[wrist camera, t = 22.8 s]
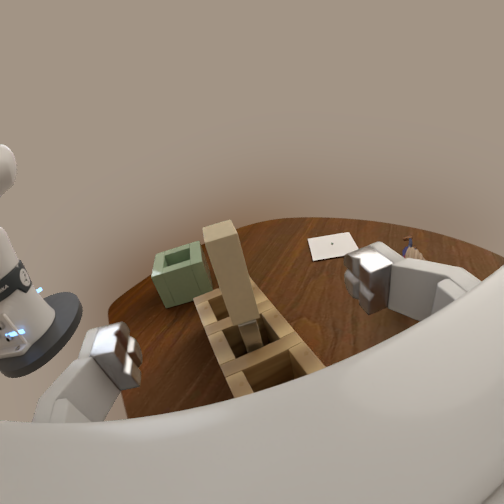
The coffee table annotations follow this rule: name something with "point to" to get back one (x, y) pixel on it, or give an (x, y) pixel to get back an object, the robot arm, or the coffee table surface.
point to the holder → (181, 274)
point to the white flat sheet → (331, 246)
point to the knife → (233, 280)
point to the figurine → (411, 250)
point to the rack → (263, 359)
